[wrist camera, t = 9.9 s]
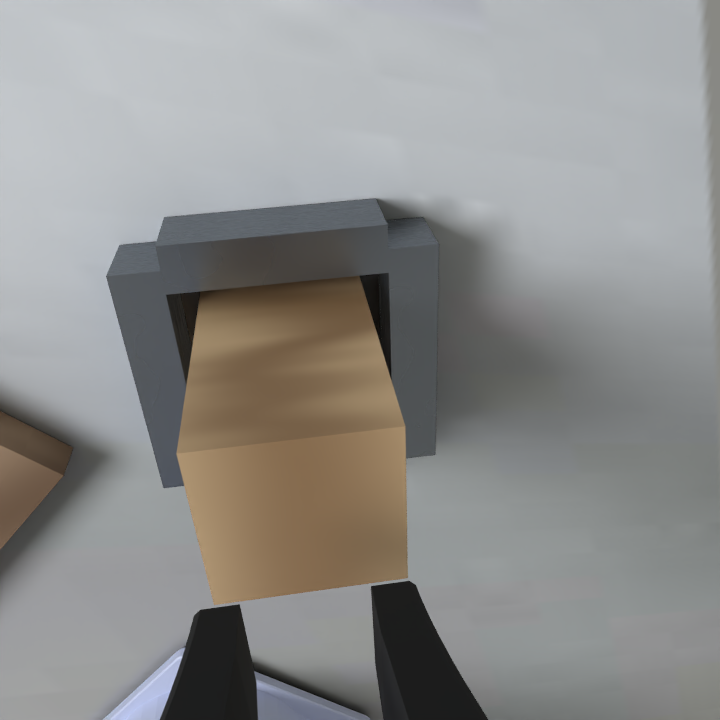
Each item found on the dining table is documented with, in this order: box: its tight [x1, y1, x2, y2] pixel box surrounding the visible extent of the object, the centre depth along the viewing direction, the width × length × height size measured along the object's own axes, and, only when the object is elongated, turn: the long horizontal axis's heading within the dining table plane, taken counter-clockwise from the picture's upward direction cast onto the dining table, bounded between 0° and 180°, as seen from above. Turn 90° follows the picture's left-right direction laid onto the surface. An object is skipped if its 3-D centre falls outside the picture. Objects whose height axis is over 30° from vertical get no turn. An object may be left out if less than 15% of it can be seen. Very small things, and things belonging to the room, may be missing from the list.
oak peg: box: [176, 276, 408, 605], centre depth 16 cm, size 4×4×7 cm
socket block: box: [106, 199, 439, 488], centre depth 18 cm, size 8×8×2 cm
